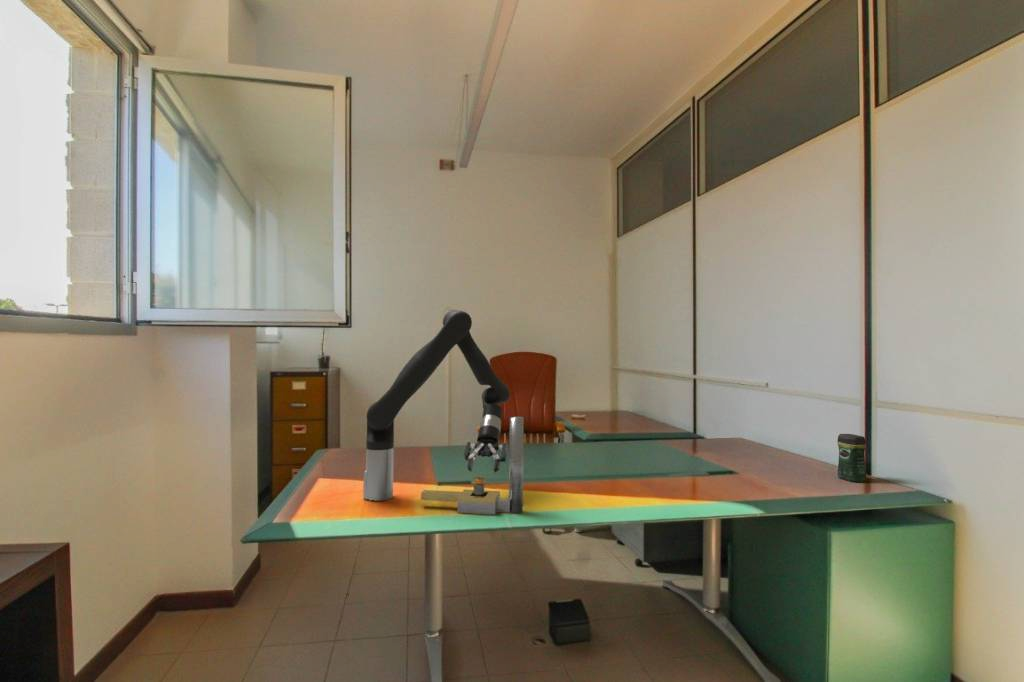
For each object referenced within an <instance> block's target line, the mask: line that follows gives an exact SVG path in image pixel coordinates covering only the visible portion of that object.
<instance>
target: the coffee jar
mask: <svg viewBox="0 0 1024 682" xmlns="http://www.w3.org/2000/svg"><path fill="white" fill-rule="evenodd" d="M837 447H838V464H837V477H838V478H839V479H841V480H844V481H848V482H856V483H864V482H867V480H868V479H867V468H866V456H865V454H866V452H865V451H866V448H867V441H866V437H865V436H863V435H858V434H853V433H839V435H838V436H837Z"/></svg>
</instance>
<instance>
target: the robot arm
mask: <svg viewBox="0 0 1024 682" xmlns="http://www.w3.org/2000/svg"><path fill="white" fill-rule="evenodd" d="M472 323H473V322H472V317H471V316H470V314H469V313H467V312H466V311H463V310H458V309H457V310H456V309H455V310H449V311H447V312H446V313H445V314H444V317H443V319H442V327H441V329H440V330H439V331H438V333H437V334H436V335H435V336H434V337H433V338H432V339H431V340H430V341H429V342H428V343H426V344H425V345H424V346H422V347H421V348H420V349H419V350H418V351H416V352H415V353H414V354H413V355H412V356H411V358H410V359H409V360H408V362H407V363H406V364H405V365H404V367H403V368H402V369H401V371H400V372H399V373H398V375H397V376H396V379H394V382H393V383H392V385H391V386H390V388H389V389H388V390H387V391H386V392H385V393H384V394H383V395H382V396H381V397H380V398H379V399H378V400H377V401H375V402H374V403H373V402H372V404H371V405H370V406H369V407H368V409H367V412H366V441H365V442H366V444H365V447H366V451H365V452H366V453H365V454H366V459H365V460H366V461H365V462H366V464H365V470H364V471H363V487H362V488H363V489H362V490H363V495H362V497H363V498H365V499H364V500H367V499H369V500H368V501H372V500H374V501H375V502H378V501H386V500H391V499H392V498H393V497H394V452H395V451H394V449H395V448H394V446H395V445H394V443H395V438H394V437H395V433H394V432H395V431H394V429H395V419H396V417H397V416H398V414H399V412H400V411H401V409H402V408H403V407H404V405H405V404H406V403H407V402H408V401H409V399H410V398H412V396H414V394H416V392H417V391H419V389H421V387H422V386H423V385H424V384H425V383H426V382H427V381H428V380H429V378H430V377H431V376H432V375H433V374H434V372H435V371H436V370H437V369H438V367H439V366H440V364H441V363H442V362H443V361H444V360H445V358H446V356H447V355H448V354H449V353H450V351H451V350H452V349H453V348H454V347H455V346H457V347H458V348H459V350H460V351H461V353H462V355H463V357H464V358H465V361H466V362H467V364H468V366H469V368H470V371H472V374H473V376H474V377H475V380H476V381H477V382H478V384H479V385H481V386H490V387H487V388H485V389H484V390H483V391H482V393H481V401H482V402H481V403H482V409H483V412H482V416H481V421H480V423H479V428H478V432H477V433H478V434H477V438H476V443H471V441H468V442H467V443H466V446H465V450H464V452H463V453H464V455H463V457H464V460H465V461H467V465H466V467H467V469H468V471H469V472H473V466H474V461H475V460H476V459H477V460H478V459H479V458H480V457H481V458H482V457H488V458H490V457H492V458H493V459H494V465H493V472H494V473H498V471H500V465H501V462H502V463H503V462H504V463H505V462H506V461H507V453H508V452H507V451H508V450H507V443H506V442H503V443H502V444H499V442H500V435H501V428H502V418H503V408H502V407H501V406H500V404H503V403H507V402H508V401H509V400H510V397H511V395H510V394H511V393H510V389H509V388H508V386H507V385H506V384H505V382H504V381H502V380H501V378H500V377H499V376H498V375H497V374H496V373H495V372H494V370H493V367H492V366H491V364H490V361H489V360H488V359H487V357H486V355H485V354H484V353H483V351H482V350H481V349H480V348H479V346H478V344H477V343H476V342H475V340H474V338H473V336H472V334H471V332H470V330H471V328H472V325H473V324H472ZM499 449H500V452H501V456H499V454H498V453H497V452H498V451H499ZM472 451H473V452H472ZM471 452H472V453H471ZM374 501H373V502H374Z"/></svg>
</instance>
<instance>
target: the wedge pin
mask: <svg viewBox="0 0 1024 682" xmlns="http://www.w3.org/2000/svg"><path fill="white" fill-rule="evenodd" d="M485 479H486V478H485V477H483V476H482V477H481V476H476V477H473V490H474V496H483V497H484V490H485Z"/></svg>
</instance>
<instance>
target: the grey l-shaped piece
mask: <svg viewBox="0 0 1024 682" xmlns="http://www.w3.org/2000/svg"><path fill="white" fill-rule="evenodd" d="M508 455H509V457H508V458H509V462H508V463H509V464H508V465H509V469H508V471H509V473H508V476H509V477H508V479H509V481H508V483H509V485H508V493H509V494H508V495H509V496H508V498H507V497H506V498H504V497H501V491H500V490H485V489H484V497H483V496H474V489H463V490H462V491H450V490H434V489H433V490H432V489H431V490H430V489H429V490H428V489H423V491H421V493H420V500H421V501H432V502H433V501H434V502H452V503H453V502H455V503H457V514H467V513H470V514H469V515H471V513H473V514H472V515H488V516H495V515H496V514H497V513H507V514H509V513H510V514H514V515H515V514H516V515H517V514H522V513H523V512H524V511H523V510H524V506H523V505H524V417H523V416H510V417H509V453H508Z"/></svg>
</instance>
